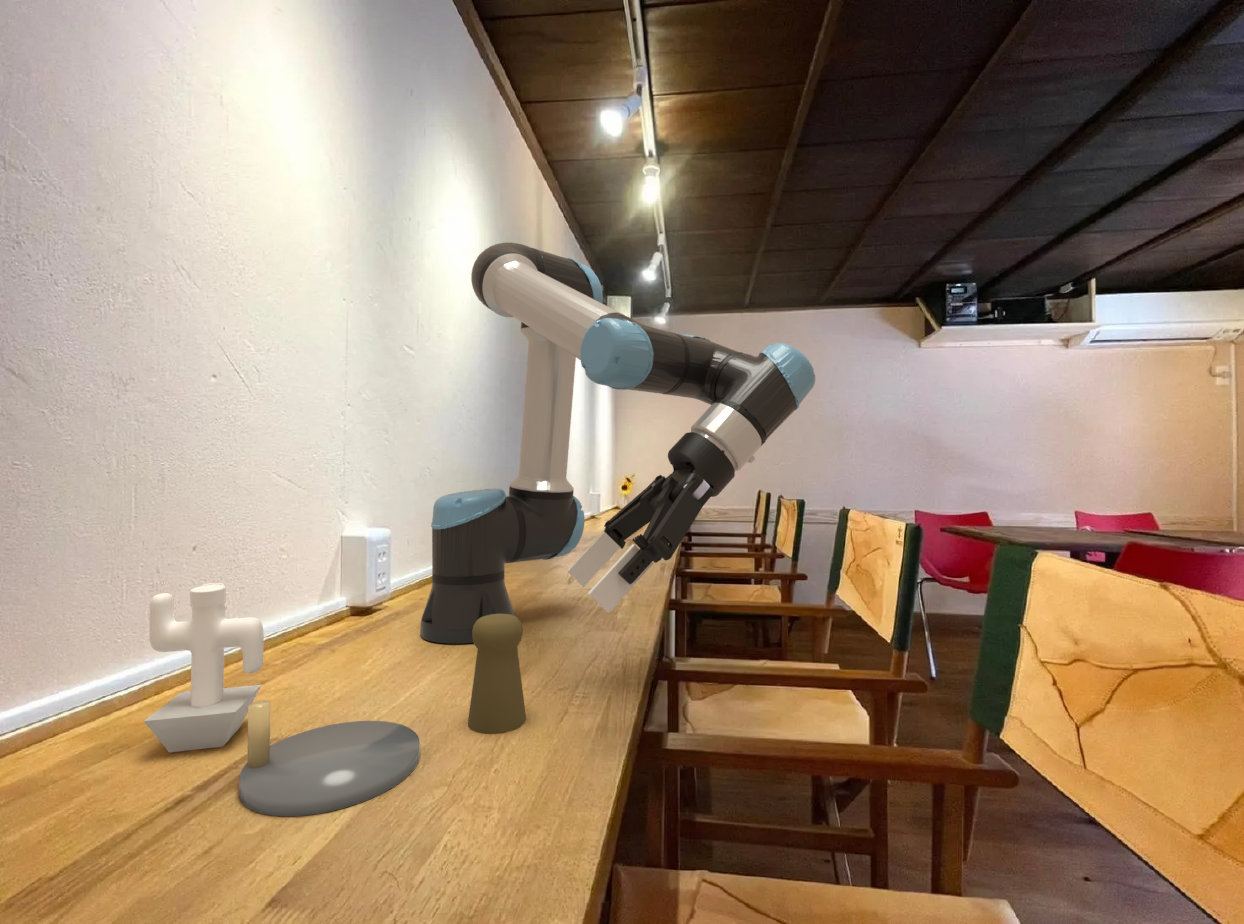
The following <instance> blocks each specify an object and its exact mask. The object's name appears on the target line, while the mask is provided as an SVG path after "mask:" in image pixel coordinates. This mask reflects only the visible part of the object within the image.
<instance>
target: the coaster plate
mask: <svg viewBox="0 0 1244 924" xmlns="http://www.w3.org/2000/svg"><path fill="white" fill-rule="evenodd" d="M420 743H421V742H420V737H419V734H417V732H415V730H413V729H412V728H410V727H409V726H406V725H404V724H402V723H396V722H391V721H385V720H383V721H382V720H355V721H347V722H339V723H334V724H330V725H325V726H324V725H323V726H320V727H316V728H311V729H309V730H305V731H303V732H298V733H296V734H294V735H291V736H288V737H285V738H284V739H282V740H278V741H277V742H275V743H272V744H271V700H259V701H253V703H251V704H250V705H249V706H248V713H247V762H246V763H245V765H244V766H243V767H242V769H241V771H240V774H239V778H238V780H239V784H238V786H239V787H238V791H239V792H238V795H239V796H238V797H239V799H240V802H241V803H242V804H243V806H245V807H246V808H247V809H249V810H251V811H254V812H256V813H258V814H261V815H262V814H263V815H267V816H274V817H302V816H303V817H304V816H312V815H313V816H314V815H319V814H325V813H329V812H335V811H339V810H341V809H346V808H348V807H352V806H355V805H358V804H362V803H364V802H366V801H368V800H371V799H373V798H376V797H378V796H380V795H382V794H384V793H386V792H387V791H389V790H392V789H393V788H395V787H396V786H398V784H400V783H402V782H403V781H404V780H406V778H407V777H409V776H410V775H411V774H412V772H413V771H414V770H415V769H416V767H417V765H418V763H419V761H420Z"/></svg>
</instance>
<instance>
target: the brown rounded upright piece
mask: <svg viewBox="0 0 1244 924" xmlns="http://www.w3.org/2000/svg"><path fill="white" fill-rule="evenodd" d="M522 637H523V625H522V621H521V620H520V619H519V617H517V616H514V615H510V614H491V615H487V616H483V617H481V618H479V619H478V620H477V621H476V622H475V624H474V626H473V630H472V638H473V642H474V643H473V645H474V646H475V648H476V649H477V653H476V658H475V659H476V660H475V667H474V674H473V681H472V682H473V683H472V689H471V697H470V703H469V712H468V718H467V727H468V728H469V730H470V731H473V732H475V733H477V734H478V733H479V734H484V735H495V734H505V733H508V732H512V731H515V730H517V729H519V728H521V727H522V726H524V724H525V723H526V722H527V713H526V705H525V697H524V691H523V683H522V676H521V667H520V659H519V652H518V651H519V650H518V646H519V645H520V643H521V641H522Z"/></svg>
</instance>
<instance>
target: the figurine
mask: <svg viewBox="0 0 1244 924" xmlns="http://www.w3.org/2000/svg"><path fill="white" fill-rule="evenodd" d="M226 592H227V587H226V586H225V584H224V583H223V582H211V583H202V584H201V586H196V587H193V588H191V589H190V590H189V595H190V599H189V601H190V607H191V611H192V613H191V614H192V615H191V616H192V618H191V620H185V621H184V620H183V621H177V620H176V617H175V613H174V612H175V607H174V604H175V603H174V596H173V595H172V594H171V593H167V592H164V593H162V592H161V593H158V594H156V595H154V596H152V598H151V599H150V602H149V642H150V645H151V648H152V649H153V650H155V651H156V652H161V653H167V652H180V651H181V652H183V651H189V652H190V653H191V660H190V661H191V662H190V663H191V665H190V666H191V671H190V675H191V676H190V690H188V691H181V692H179V693H178V694H177V695H175V696H174V697H173V698H171V700H169V701H168V702H166V703H165V704H163V706H161V707H160V708H158V709H157V710H155V712H153V713H152V714H151V715H150V716H148V717H147V718H146V719H145V720H143V723H144V724H145V725H146V726H147V727H148V729H149V730H150V731H151V732H152V734H153V735H154V736H155V737H156V738H157V740H159V742H160V744H162V745H163V747H164V748H165V749H166V750H167V751H168V752H169V753H178V752H187V751H193V750H194V751H195V750H196V751H197V750H203V749H212V748H223V747H224V746H225V745H226V744H227V743H228V742H229V741H230V739H231V738H232V737H233V736H234V735H235V734H236V732H238V731H239V729H240V728H241V726H242V724H243V723H244V721H245V718H246V716H248V706H249V705H250V704H251V703H254V702H255V699H256V697H257V696H258V695H257V694H258V693H259V691H260V689H261V688H262V684H257V685H255V684H254V685H243V686H233V687H224V675H225V673H224V672H225V669H224V667H225V665H224V663H225V648H237V647H238V648H240V649H241V653H242V670H243V672H244V673H245V674H255V673H257V672H259V671H260V670H261V669H262V667H263V664H264V636H265V635H264V627H263V623H262V621H261V620H260V619H259V618H257V617H253V616H251V617H237V618H234V617H233V618H226V615H225V612H226V610H227V609H228V606H227V604H226V602H227V593H226Z"/></svg>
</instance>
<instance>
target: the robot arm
mask: <svg viewBox="0 0 1244 924" xmlns="http://www.w3.org/2000/svg"><path fill="white" fill-rule="evenodd" d="M476 257H477V258H476V259H475V261H474V263H473V266H472V269H471V273H470V275H471V279H470V281H471V285H472V289H473V291H474V294H475V296H476V297H477V299H478V300H479V302H481V304H483V306H485V307H486V308H487V309H489V310H491V311H492V312H493V313H494V314H497V315H498V316H501V317H505V318H515V319H516V320H517V321H519V322H521V323H520V324H521V325H520V333H521V334H522V335H523V336H524V337H525V339H526V340H527V342H528V346H527V347H528V348H527V361H526V373H525V385H524V401H523V414H522V428H521V429H522V430H521V440H520V441H521V443H520V454H519V467H518V468H519V470H518V475H517V476H516V478H514V479H513V480H512V481H511V482H510V483H509V491H508V495H507V494H506V493H505V491H504V489H502V488H486V489H478V490H477V489H474V490H467V491H465V490H464V491H460V492H455V493H449V494H446V495H445V494H444V495H442V496H440V497H438V498H437V499H436V501H435V502H434V504H433V507H432V509H433V510H432V520H431V523H430V526H431V529H432V530H431V533H432V534H431V537H432V538H431V541H432V543H431V545H432V546H431V547H432V548H431V549H432V550H431V551H432V554H431V556H432V557H431V559H432V561H431V564H432V565H431V566H432V567H431V568H432V569H431V570H432V571H431V574H432V576H431V589H430V592H429V595H428V598H427V602H426V604H425V607H424V610H423V613H422V617H421V620H420V628H419V629H420V633H419V634H420V636H421V639H424V640H425V641H427V642H428V641H429V642H432V643H438V644H451V645H452V644H458V645H459V644H474V642H473V638H472V630H473V626H474V624H475V622H476V621H477V620H478V619H479V618H481V617H483V616H487V615H491V614H510V615H514V616H515V612H514V608H513V605H512V602H511V598H510V595H509V593H508V590H507V586H506V583H505V580H506V579H505V564H512V563H513V564H514V563H520V562H530V561H537V560H539V561H540V560H545V561H546V560H552V559H554V558H559V557H563V556H566V555H568V554H570V553H571V552H572V551H573V550H574V549H576V547H577V546H578V544H579V543H580V541H581V538H582V537H583V533H584V529H585V521H586V520H585V511H584V510H583V509H582V508H583V505H582V502H581V501H580V500H579V499H578V498H577V497H575V496H574V486H573V485H572V484H571V483H570V482H569V481H568V479H567V472H568V459H569V447H570V438H571V437H570V435H571V423H572V411H573V409H572V408H573V397H574V388H575V387H574V386H575V376H576V375H575V371H576V361H577V359H578V360H579V361H580V365H581V367H582V368H583V369H584V372H585V376H587V378H588V379H589V380H590V381H592V382H593V383H595V384H597V385H600V386H601V385H602V386H607V387H609V388H611V389H614V390H624V391H625V390H627V391H628V390H629V391H638V392H643V393H644V392H645V393H646V392H647V393H654V394H662V395H666V396H667V395H668V396H675V397H680V398H681V397H682V398H689V399H694V400H695V399H696V400H699V401H701V402H704V403H705V404H708V405H710V406H709V407H708V408H707V409H706V410H705V412H703V414H701V415H700V417H699V418H698V419H697V420H696V421H695V422H694V423H693V424H692V425H691V426H690V432H689V431H688V432H685V433H684V435H682V436H681V438H680V439H678V440H677V442H676V443H675V444H674V445H673V446H672V447H671V448H670V449H669V451H668V453H667V458H668V462H669V463H670V465H671V466H672V469H673V471H672V472H671V473H669V475H668V476H666V477H665V476H664V475H662V474H659V475H657V476H656V477H655V478H654V479H653V481H651V483H650V484H649V485H647V487H645V488H644V489H643V490H642V491H641V492H640V493H639V494H637V495H636V496H635V497H634V498H633V499H632V500H631V501H630V502H628V503H627V504H626V505H624V507H622V508H621V510H619V511H618V512H617V513H616V514H614V515H613V516H612V517H611V518H610V519H608V520H606V522H605V523H604V530H603V532H602V533H601V534H600V535H599V536H598V537H597V538H596V539H595V540H594V541H593V542H592V543H591V544H590V546H588V547H587V549H585V551H584V552H583V553H582V554H581V555H580V556H579V557H578V558H577V560H575V561H574V563H573V564H572V565H571V566H569V567H568V569H567V570H566V572H567V573H568V574H569V575H570V576H571V577H572V578H573V579H575V581H577V583H579V584H580V585H581V587H582V588H584V587H585V586H586V585H587V584H588V583H589V582H590V581H591V580H592V579H593V578H594V576H596V574H597V573H598V572H599V571H600V570H601V569H602V568H603V567H604V566H605V564H606V563H607V562H608V561H610V559H611V558H612V557H613V556H614V555H615V554H616V553H617V552H618V550H619V549H621V550H623V549H624V547H625V545H626V543H627V542H626V541H625V540H627V539H628V538H630V537H631V536H632V535H634V534H635V533H636V532H638V531H639V530H640V529H642V528H643V527H645V526H646V525H647V526H646V529H645V531H644V532H643V534H642V533H640V534H639V535H636V536H635V537H634V538H632V542H633V544H631V546H629V547H628V548H627V550H626V551H625V552H624V553H623V554H622V555H621V556H620V557H619V559H617V561H616V562H615V563H614V564H613V565H612V566H611V567H610V568H609V569H608V571H606V573H605V574H604V575H603V576H602V577H601V578H600V579H599V580H598V581H597V583H595V584H594V585H593V587H592V588H591V589H590V590H589V591H588V592H587V594H588V595H589V596H590V598H592V599H593V600H594V601H595V602H596V603H597V604H598V605H599V606H600V607H601V608H602V609H603V610H604V611H605V612H606V613H608V614H610V613H611V612H612V610H613V609H614V608H615V607H616V606H617V605H618V604H619V603H620V601H621V600H622V599H623V598H624V597H625V596H626V595H627V594H628V593H629V591H630V590H632V588H633V587H634V586H635V585H636V584H637V583H638V581H640V579H641V578H642V577H643V576H644V575H645V574H646V572H648V570H650V568H651V567H652V566H653V565H654V563H658V562H660V561H661V560H662V559H663V560H664V561H666V562H667V561H668V560H670V559H671V558H672V557H673V556H674V554H675V552H676V551H677V550H678V547H679V546H680V544H681V542H682V541H683V539H684V537H685V536H686V534H687V533H688V531H689V529H691V527H692V525H693V524H694V521H695V520H696V518H697V517H698V516H699V513H700V512H701V510H702V508H703V507H704V506H705V504H707V502H708V501H709V500H710V498H711V497H712V498H713V497H714V498H715V497H717V496H719V494H720V493H722V492H723V490H724V489H725V488H726V487H727V486H728V484H729V483H730V482H732V480H733V479H734V478H735V475H736V472H737V471H738V472H739V471H740V470H741V469H743V468H744V466H745V465H746V464H747V463H748V464H750V463H751V464H752V463H753V462H754V461H755V459H756V458H755V457H756V456H755V454H756V452H758V451H759V449H761V447H762V446H763V445H764V444H765V443H766V441H767V440H768V438H770V437H771V435H772V434H773V433H774V432H775V431H776V430H778V429H779V427H780V426H781V425H782V424H783V423H784V422H785V421H786V420H787V419H788V418H789V417H790V416H791V415H792V414H793V413H794V412H795V411H796V410H798V409H799V407H800V405H801V403H802V402H803V401H804V399H806V397H807V395H808V394H809V393H810V392H811V391H812V390H813V389H814V386H815V384H816V375H815V371H814V370H815V369H814V367H813V365H812V363H811V362H810V360H809V359H808V357H806V356H805V354H804V353H803V352H801V351H800V350H799V349H798V348H796V347H794V346H792V345H790V344H787V343H784V342H777V343H770V344H769V345H768V346H767V347H766V348H765V349H763V350H760V352H759V354H758V355H757V356H754V355H752V354H751V353H750V354H749V353H744V352H740V351H737V350H734V349H732V348H729V347H727V346H723V345H722V344H719V343H716V342H713V341H711V340H710V339H708V338H705V337H700V336H698V335H691V334H687V333H686V334H684V333H683V334H680V333H676V332H671V331H666V330H662V329H658V328H655V327H652V326H649V325H647V324H643V323H641V322H639V321H638V320H636V319H633V318H631V317H629V316H627V315H625V314H624V313H621V312H620V311H617V310H616V309H614V308H611V307H609V306H607V304H604V299H603V298H604V296H603V289H602V284H601V281H600V280H599V278H598V276H597V274H595V272H594V270H593V269H592V268H591V267H589V266H587V265H585V264H583V263H580V262H579V261H577V260H575V259H572V258H569V257H568V258H567V257H563V256H559V255H556V254H554V253H551V252H547V251H544V250H541V249H539V248H538V249H537V248H534V247H530V246H528V245H525V244H522V243H518V242H517V243H516V242H500V243H495V244H494V245H493V244H492V245H490V246H489V247H487V248H485V249H484V250H483V251H481V253H479V255H478V256H476ZM635 544H636V545H635ZM515 617H516V616H515Z"/></svg>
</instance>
